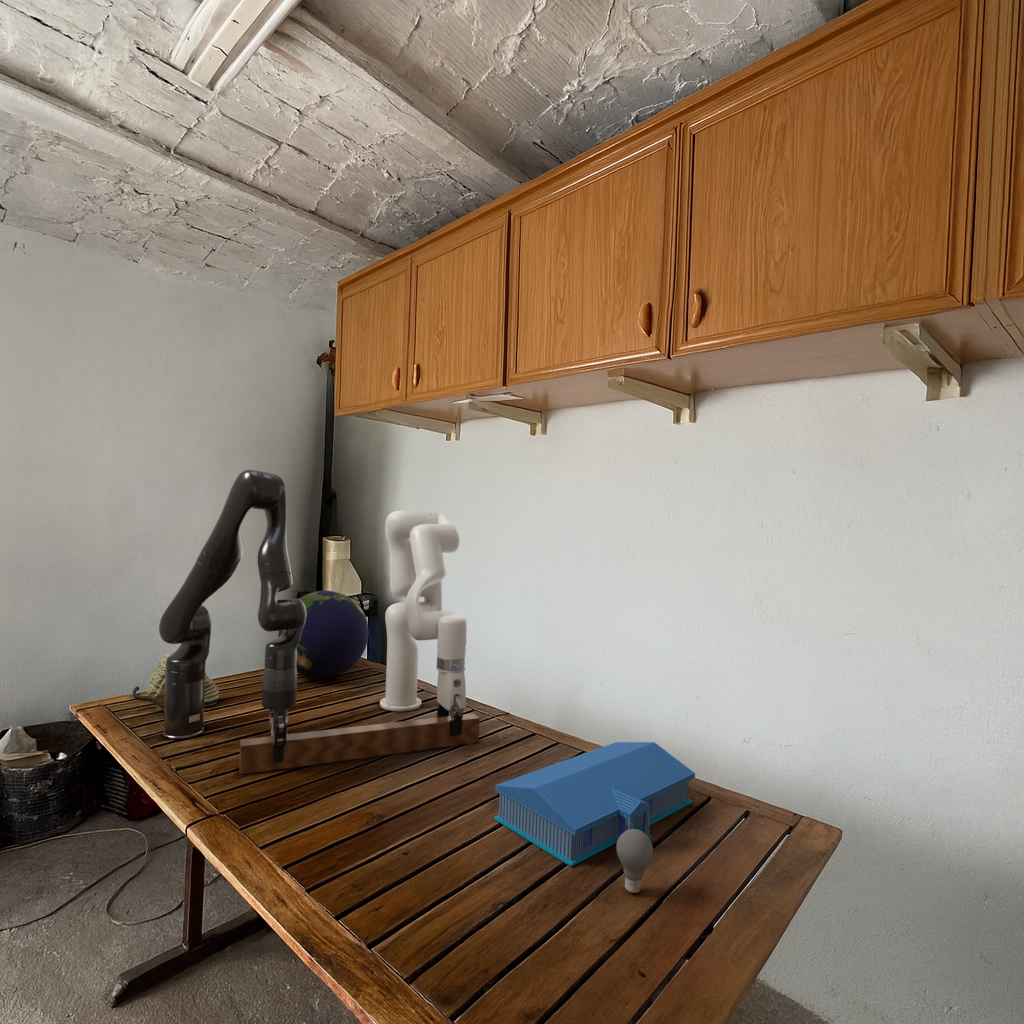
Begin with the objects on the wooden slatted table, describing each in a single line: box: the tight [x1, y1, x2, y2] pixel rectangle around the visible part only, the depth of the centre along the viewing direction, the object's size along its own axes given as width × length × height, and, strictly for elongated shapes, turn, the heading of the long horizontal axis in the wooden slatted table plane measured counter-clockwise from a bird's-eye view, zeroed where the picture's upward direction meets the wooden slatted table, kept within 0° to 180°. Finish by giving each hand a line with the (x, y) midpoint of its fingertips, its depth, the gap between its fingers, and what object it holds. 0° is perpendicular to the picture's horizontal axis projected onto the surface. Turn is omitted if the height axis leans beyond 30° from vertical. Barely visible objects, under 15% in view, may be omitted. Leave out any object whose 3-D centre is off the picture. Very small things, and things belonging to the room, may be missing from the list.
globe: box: [277, 590, 369, 680], centre depth 219 cm, size 30×30×30 cm
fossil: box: [147, 654, 221, 712], centre depth 185 cm, size 9×18×15 cm, turn 132°
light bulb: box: [615, 829, 654, 894], centre depth 106 cm, size 6×6×10 cm
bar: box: [238, 713, 480, 775], centre depth 157 cm, size 58×4×6 cm, turn 115°
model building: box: [493, 741, 696, 868], centre depth 132 cm, size 39×24×10 cm, turn 132°
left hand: (277, 757), depth 148 cm, fingers closed on bar, 4 cm apart
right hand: (448, 729), depth 165 cm, fingers open, 9 cm apart
